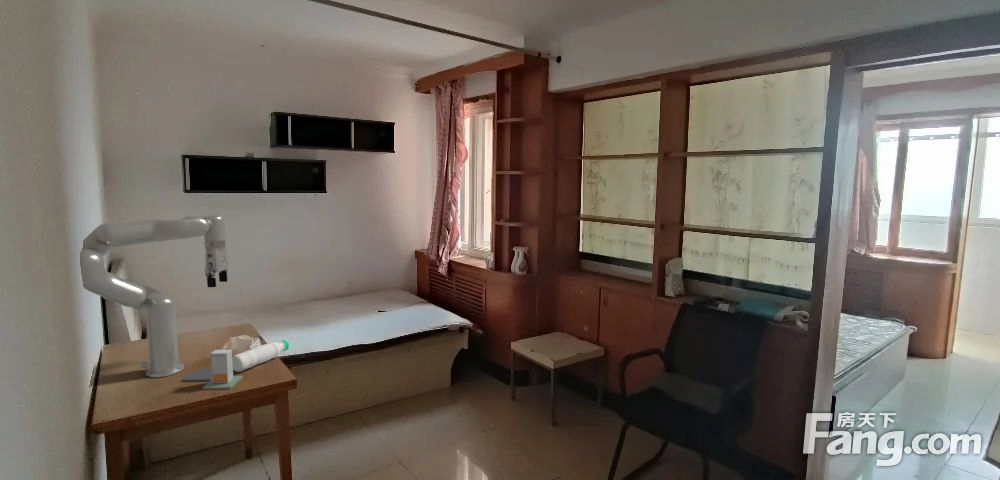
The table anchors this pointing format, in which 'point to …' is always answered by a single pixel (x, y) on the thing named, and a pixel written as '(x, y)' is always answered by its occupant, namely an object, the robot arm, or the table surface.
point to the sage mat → (223, 384)
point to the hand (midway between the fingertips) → (217, 284)
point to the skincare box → (221, 366)
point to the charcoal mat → (199, 375)
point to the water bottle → (258, 355)
